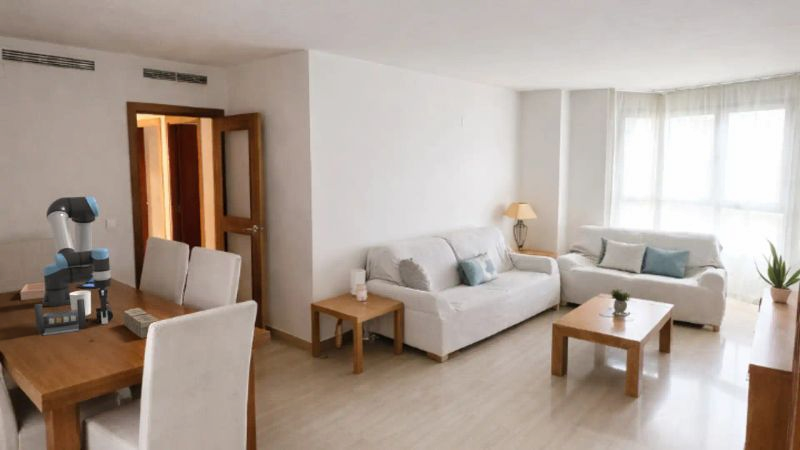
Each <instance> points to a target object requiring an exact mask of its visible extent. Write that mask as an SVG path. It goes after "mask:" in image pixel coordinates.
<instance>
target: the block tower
mask: <svg viewBox="0 0 800 450" xmlns="http://www.w3.org/2000/svg"><path fill="white" fill-rule="evenodd" d="M123 318H124V326H125V327H127V329H129V330H130V331H131V332H132V333H134V334H135V335H137V336H138V337H139V338H140V339H144V338H145V339H146V338H147V337H146V336H147V332H148V327H149V325H150V324H151V323H153V322H156V321H159V322H160V320H159V319H158V318H156V317H154V316H153V315H151V314H150V313H149V314H148V312H146V311H145V310H144V309H142V308H141V307H136V308H135V307H134V308H131V309H128V310H124V311H123Z"/></svg>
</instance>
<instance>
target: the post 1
mask: <svg viewBox="0 0 800 450" xmlns="http://www.w3.org/2000/svg"><path fill="white" fill-rule="evenodd" d="M34 314H35V316H34V318H35V325H36V327H35V328H36V335H43V334H44V332H45V328H44V320H43V315H44V309H43V304H42V303H35V304H34Z"/></svg>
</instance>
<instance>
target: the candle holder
mask: <svg viewBox="0 0 800 450" xmlns="http://www.w3.org/2000/svg"><path fill="white" fill-rule="evenodd" d="M69 295H70V302H71V303H70V308H71V310H78V308H77V300H78V299H84V304H85V317H87V316H88V315H89V316H90V315H91V313H92V292H91V290H88V289H87V290H86V289H85V290H77V291H73V292H72V291H71V293H70V294H69Z"/></svg>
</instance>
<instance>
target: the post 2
mask: <svg viewBox="0 0 800 450" xmlns="http://www.w3.org/2000/svg"><path fill="white" fill-rule="evenodd" d="M77 308H78V320H79V329H85V328H87V322H86V321H87V320H86V317H87V316H85V304H84V299H78V300H77Z"/></svg>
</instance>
